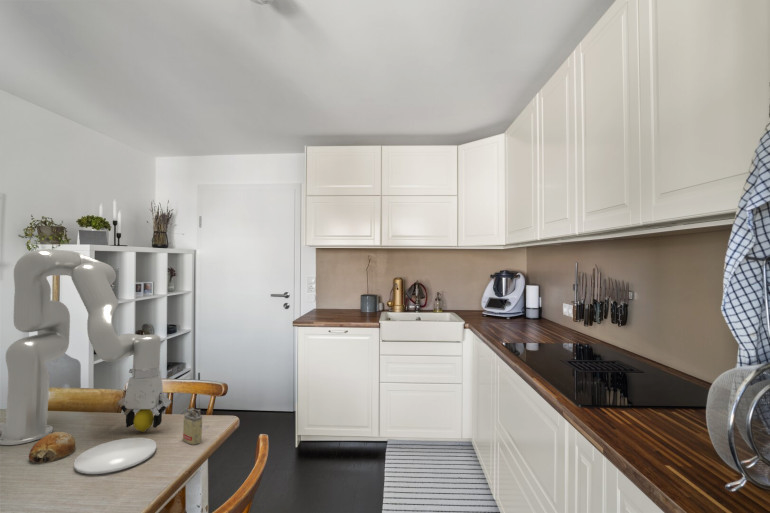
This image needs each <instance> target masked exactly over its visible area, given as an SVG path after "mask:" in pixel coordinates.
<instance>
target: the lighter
mask: <svg viewBox="0 0 770 513" xmlns="http://www.w3.org/2000/svg"><path fill="white" fill-rule="evenodd" d="M182 429H183V430H182V441H183V442H185V443H186V444H189V445H199V444H200V443H202V442H203V440H202V439H203V438H202V437H203V436H202V432H203V416H202V414H201V409H195V408H194V407H190V408H187V409H186V413H185V414H184V416H183V428H182Z"/></svg>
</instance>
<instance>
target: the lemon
mask: <svg viewBox="0 0 770 513" xmlns="http://www.w3.org/2000/svg"><path fill="white" fill-rule="evenodd" d="M153 418H154V411H153V410H152V409H138V411H136V413H135V417H134V424H133V427H134V428H135V430H136V431H139V432H141V433H145V431H146V430H148V429H150V428H151V426H153Z"/></svg>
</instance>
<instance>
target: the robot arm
mask: <svg viewBox="0 0 770 513" xmlns="http://www.w3.org/2000/svg"><path fill="white" fill-rule="evenodd" d="M50 276H69V277H70V278H71V281H72V283H73V285H74V287H75V289H76V291H77V293H78V295H79V298H80V299H81V302H82V303H83V306H84V308H85V310H86V311H87V323H86V324H87V325H86V326H87V327H86V328H87V331H86V332H87V336H88V340H89V342H90V344H91V346H92V348H93V350H94V352H95V353H96V355H97V356H98V358H99V359H101V360H102V361H104V362H106V363H114V362H118V361H120V360H122V359H124V358H128V357H130V356H132V368H129V371H128V373H129V374H131V377H129V379H128V382H127V386H126V389H125V390H126V391H125V396H124V397H123V398H121V399H120V400H118V401H117V404H118V406H119V407H120V409H121V411H122V412H123V414H124V416H125V428H130V427H131V426H134V417H135V415H136V413H135V410H141V409H150V410H152V412H153V417H154V418H153V423H152V428H157V427H159V426H160V425H161V423H162V417H163V414H162V413H163V412H164V411H165V410H166V409H168V407H169V406H170V404H171V403H172V400H171V399H170V398H168V397H167V396H165V395H164V390H163V389H164V388H163V379H162V375H160V366H161V365H160V364H161V363H160V361H161V360H160V359H161V344H162V343H161V342H162V341H161V337H160V335H158V334H136V333H124V334H121V335H118V334H117V332H116V331H115V328H114V325H113V316H114V312H115V311H116V309H117V307H118V306H119V300H118V298H117V296H116V295H115V292H114V290H113V288H112V286H111V285H112V284H114V282H116V278H117V273H116V271H115V269H114V267H112V265H110V264H108V263H107V262H102V261H100V260H98V259H95V258H92V257H90V256H87V255H85V254H82V253H79V252H77V251H73V250H60V249H54V248H53V249H49V248H48V249H45V248H43V249H37V250H32V251H30V252H28V253H27V252H26V253H25V254H23V255H22V256H21V257H20V258H19V259H18V260H17V261H16V263H15V264H14V268H13V283H14V297H13V325H14V327H15V329H16V330H17V331H18V332H22V333H33V332H37V333H36V334H34V335H30V336H25V337H22V338H19V339H17V340H15V341H13V342H12V343H11V344H10V345H9V346H8V348H7V350H6V351H5V352H6V353H5V364H6V368H7V376H8V377H7V382H8V383H7V396H6V397H7V398H6V413H5V422H4V421H3V422H0V432H1V435H0V445H1V446H15V445H21V444H27V443H31V442H35V441H39V440H40V439H42V438H43V437H45V436H47V435H49V434H51V433H53V429H54V428H53V426H52V425H49V424H48V408H49V393H50V392H49V390H50V374H49V373H50V372H49V370H48V368H47V365H46V363H47V362H48V363H49V362H51V361H53V360H56V359H59V358H61V357H62V356H64V355H65V354H66V352H67V351H68V349H69V345H70V334H71V332H70V330H71V329H70V328H71V325H70V324H71V314H70V311H69V308H68V307H67V305H65V304H64V303H63V302H61V301H59V300H54V299H53V300H51V295H52V288H51V285H50V282H49V280H48V279H47V278H48V277H50ZM162 404H163V405H162Z"/></svg>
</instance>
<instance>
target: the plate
mask: <svg viewBox="0 0 770 513" xmlns="http://www.w3.org/2000/svg"><path fill="white" fill-rule="evenodd" d="M156 451H157V443H156V441H155V440H153V439H150V438H147V437H127V438H120V439H115V440H111V441H108V442H103V443H100V444H98V445H96V446H93V447H91V448H89V449H87V450H85V451H83V452H81V453H80V454H79V455H78V456H77V457H76V458H75V460H74V463H73V468H74V470H75V471H77V472H78V473H81V474H85V475H99V474H108V473H113V472H114V473H115V472H118V471H122V470H125V469H128V468H131V467H134V466H136V465H138V464H141V463H143V462H144V461H146V460H148V459H149V458H151V457H152V456H153V455H154V454H155V453H156Z"/></svg>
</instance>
